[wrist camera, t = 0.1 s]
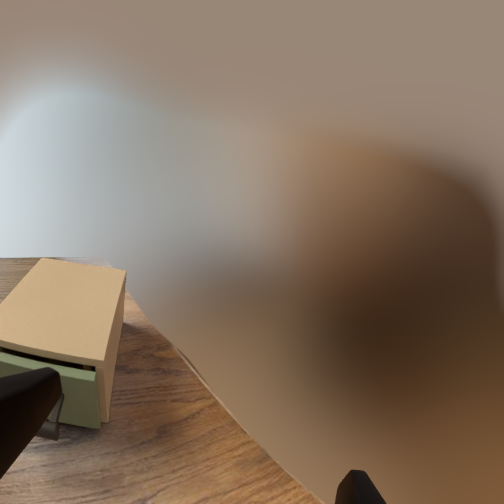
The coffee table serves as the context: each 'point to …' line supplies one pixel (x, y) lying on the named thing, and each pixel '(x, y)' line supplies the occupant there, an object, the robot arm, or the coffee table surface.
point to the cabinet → (68, 318)
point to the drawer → (73, 390)
